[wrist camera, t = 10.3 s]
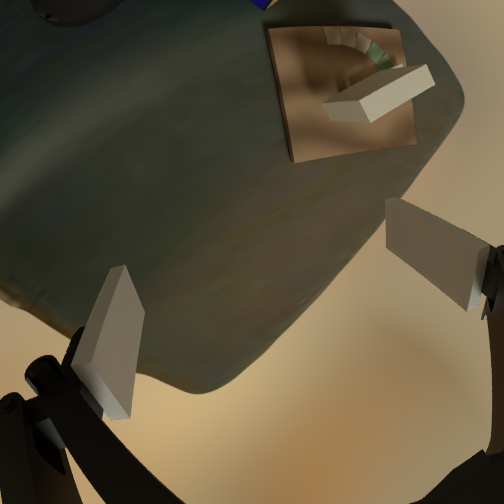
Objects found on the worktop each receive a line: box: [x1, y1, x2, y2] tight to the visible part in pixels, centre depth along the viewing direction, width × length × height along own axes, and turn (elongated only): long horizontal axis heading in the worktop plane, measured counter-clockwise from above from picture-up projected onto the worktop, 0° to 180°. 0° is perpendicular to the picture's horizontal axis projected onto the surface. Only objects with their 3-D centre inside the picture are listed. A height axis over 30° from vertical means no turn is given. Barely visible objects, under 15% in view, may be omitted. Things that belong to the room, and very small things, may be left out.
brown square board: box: [266, 26, 416, 163], centre depth 36 cm, size 18×20×2 cm
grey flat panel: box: [321, 63, 435, 123], centre depth 30 cm, size 15×2×12 cm, turn 123°
